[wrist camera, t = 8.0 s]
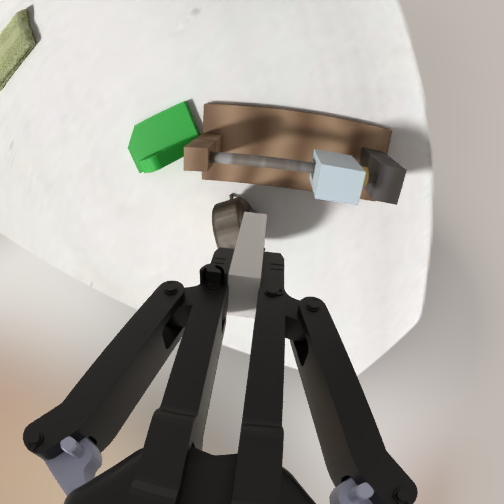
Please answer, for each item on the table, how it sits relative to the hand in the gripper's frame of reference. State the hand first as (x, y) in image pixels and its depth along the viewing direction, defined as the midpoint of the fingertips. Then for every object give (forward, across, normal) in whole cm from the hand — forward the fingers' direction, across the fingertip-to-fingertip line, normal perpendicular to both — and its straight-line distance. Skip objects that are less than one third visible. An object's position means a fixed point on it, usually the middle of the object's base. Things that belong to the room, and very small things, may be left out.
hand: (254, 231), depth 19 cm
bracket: (+27, -17, 0) cm, 32 cm away
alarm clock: (+27, -3, -12) cm, 29 cm away
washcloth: (+27, -56, +24) cm, 66 cm away
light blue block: (+19, +8, 0) cm, 21 cm away
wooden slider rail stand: (+26, +4, 0) cm, 27 cm away
